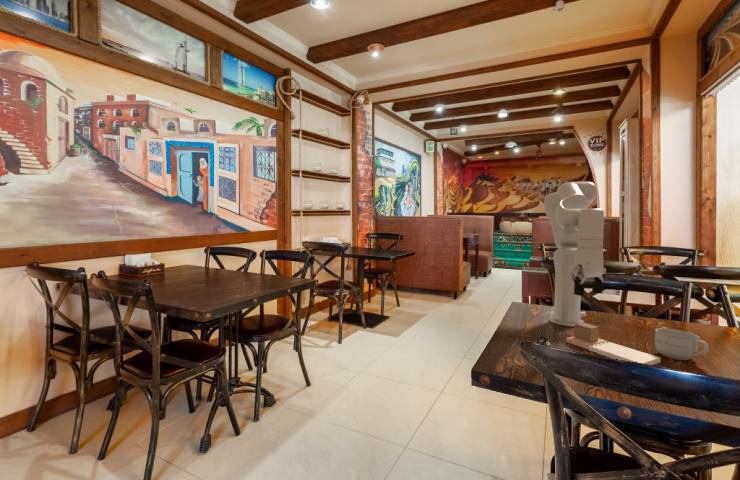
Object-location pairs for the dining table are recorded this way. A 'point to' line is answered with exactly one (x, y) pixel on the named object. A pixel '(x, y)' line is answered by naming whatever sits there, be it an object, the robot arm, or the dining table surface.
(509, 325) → the dining table surface
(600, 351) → the ticket pad
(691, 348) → the teacup
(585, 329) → the stub
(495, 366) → the dining table surface
